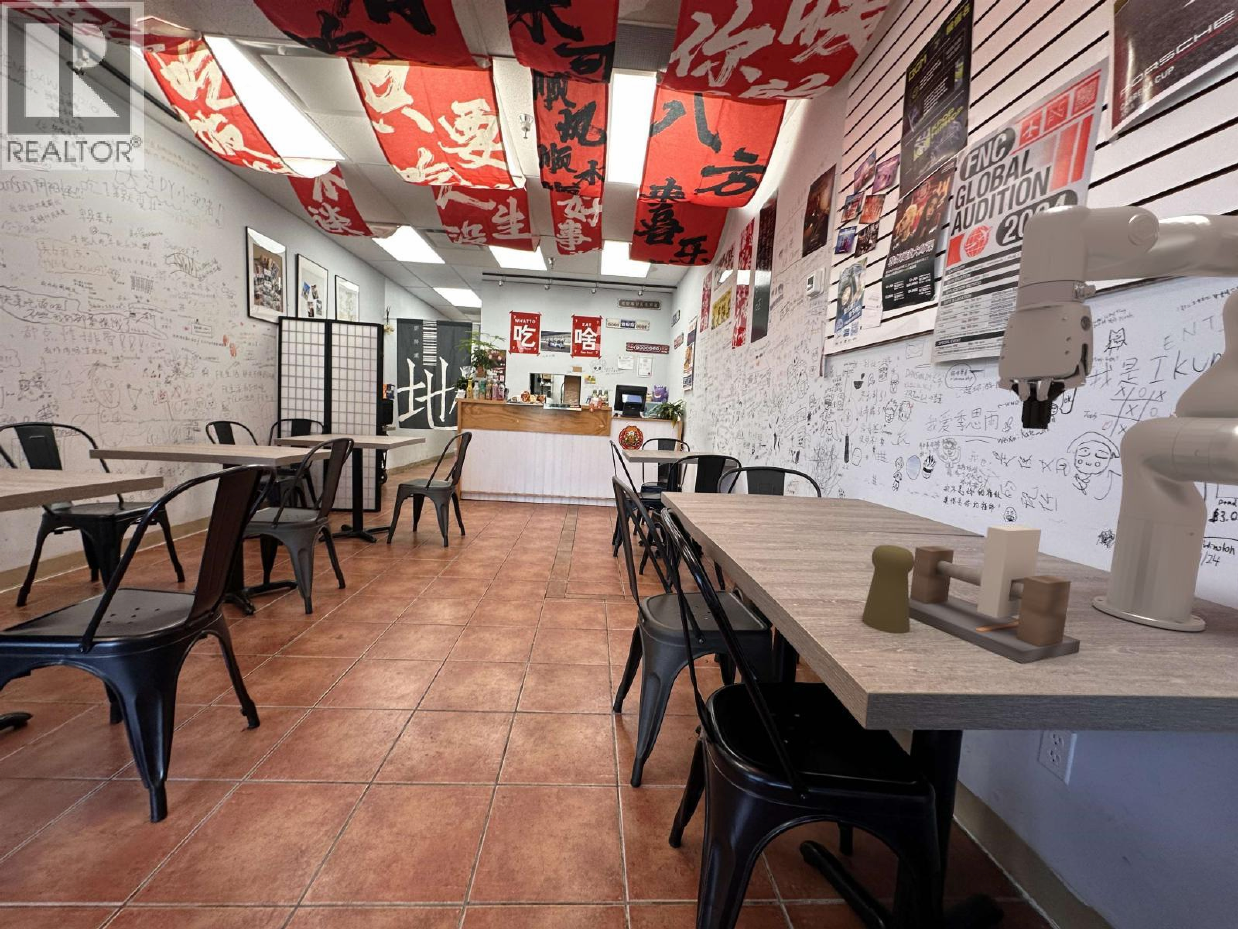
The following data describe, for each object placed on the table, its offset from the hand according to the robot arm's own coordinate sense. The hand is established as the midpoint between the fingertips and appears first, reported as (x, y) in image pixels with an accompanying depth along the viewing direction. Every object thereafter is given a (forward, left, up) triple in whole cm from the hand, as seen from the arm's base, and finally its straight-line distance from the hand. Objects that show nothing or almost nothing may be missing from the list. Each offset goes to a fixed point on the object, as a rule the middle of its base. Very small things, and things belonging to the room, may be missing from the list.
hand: (1034, 428), depth 77 cm
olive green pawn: (+23, -3, -29) cm, 37 cm away
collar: (+11, +5, -25) cm, 28 cm away
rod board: (+11, +2, -29) cm, 31 cm away
